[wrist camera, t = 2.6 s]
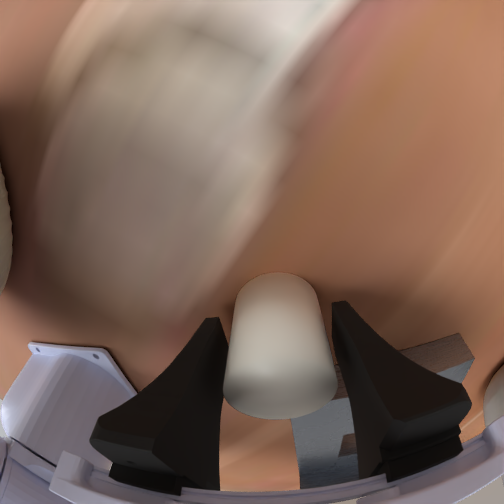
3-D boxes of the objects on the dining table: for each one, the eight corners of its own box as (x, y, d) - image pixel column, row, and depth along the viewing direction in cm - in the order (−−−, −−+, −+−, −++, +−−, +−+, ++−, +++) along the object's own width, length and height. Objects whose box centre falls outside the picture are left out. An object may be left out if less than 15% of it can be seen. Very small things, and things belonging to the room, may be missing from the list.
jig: (299, 457, 22) (300, 493, 18) (286, 372, 15) (290, 437, 11) (407, 434, 21) (416, 467, 17) (458, 333, 14) (488, 380, 10)
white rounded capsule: (243, 341, 14) (236, 422, 10) (226, 278, 12) (208, 362, 8) (319, 331, 14) (335, 412, 9) (315, 266, 12) (340, 348, 7)
